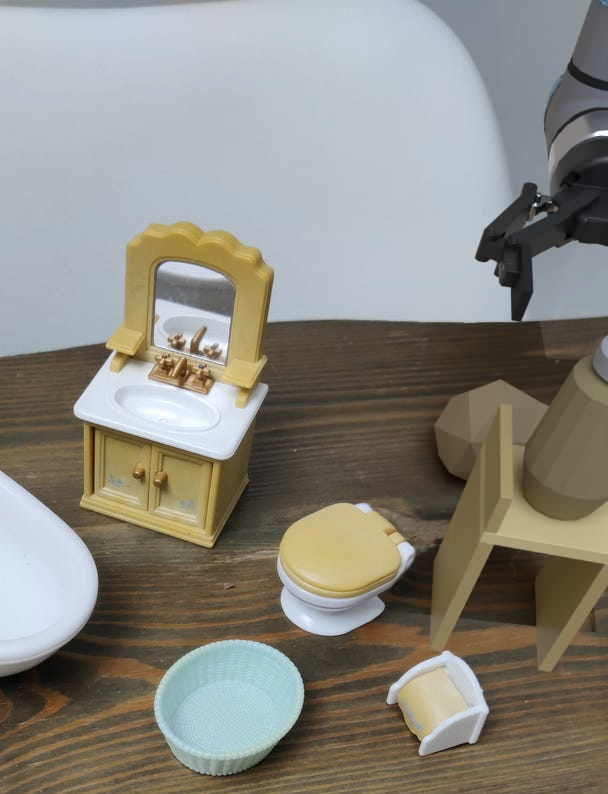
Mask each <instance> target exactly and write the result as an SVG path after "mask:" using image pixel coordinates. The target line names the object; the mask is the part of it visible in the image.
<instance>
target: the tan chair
mask: <svg viewBox="0 0 608 794" xmlns="http://www.w3.org/2000/svg"><path fill="white" fill-rule="evenodd" d="M524 451H525V447H524V446H518V445H513V431H512V406H511V405H506V404H500V406H499V408H498V410H497V413H496V415H495V417H494V420H493V422H492V425H491V427H490V429H489V432H488V434H487V436H486V439H485V441H484V443H483V446H482V448H481V451H480V453H479V455H478V458H477V460H476V462H475V465H474V467H473V469H472V472H471V474H470V477H469V479H468V481H466V484H465V486H464V489H463V491H462V493H461V496H460V498H459V501H458V503H457V505H456V508H455V510H454V512H453V515H452V517H451V519H450V522H449V524H448V526H447V529H446V531H445V533H444V536H443V538H442V541H441V543H440V546H439V548H438V550H437V553H436V555H435V557H434V561H433V566H432V567H433V568H432V586H431V590H432V591H431V603H430V604H431V606H430V625H429V626H430V627H429V645H428V649H429V650H430V651H435V652H441V653H442V652H443V651H444V649H445V647H446V644H447V643H448V642H449V641H448V640H449V638H450V636H451V635H452V633H453V630H454V628H455V626H456V624H457V622H458V620H459V618H460V616H461V614H462V613H463V609H464V608H465V606H466V603H467V601H468V599H469V598H470V595H471V593H472V592H473V589H474V588H475V585H476V583H477V580H478V578H479V577H480V575H481V572H482V571H483V569H484V566H485V564H486V563H487V561H488V558H489V557H490V554H491V553H492V551H493V548H494V546H500V547H505V548H511V549H517V550H523V551H529V552H534V553H540V554H546V555H548V556H547V558H546V559H545V561H544V563H543V565H542V567H541V568H540V570H539V572H538V574H537V576H536V577H535V580H534V591H535V592H534V594H535V596H534V597H535V599H534V600H535V629H536V630H535V632H536V664H537V671H542V672H547V673H551V672H552V671H553V670H554V668H555V666H556V665H557V663H558V662H559V661H560V659H561V657H562V656H563V654H564V653H565V651H566V650H567V648H568V647H569V645H570V644H571V642H572V641H573V639H574V637H575V636H576V635H577V633H578V632H579V630H580V629H581V627H582V626H583V624H584V622H585V621H586V620H587V618H588V616H589V615H590V613H591V612H592V610H593V609H594V607H595V606H596V604H597V603H598V601H599V600H600V598H601V597H602V595H603V594H604V592H605V591H606V589H607V587H608V501H607V502H606V503H604V504H603V505H602V506H600V507H599V508H598V509H596V510H595V511H594V512H592V513H591V514H590V515H588V516H586V517H583V518H581V519H578V520H561V519H557V518H553V517H549V516H547V515H545V514H544V513H542V512H540V511H538V510H536V509H535V508H534V507H533V506H532V505H531V504H530V503H529V502H528V501H527V499H526V497H525V495H524V492H523V457H524Z"/></svg>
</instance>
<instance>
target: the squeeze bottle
mask: <svg viewBox="0 0 608 794" xmlns="http://www.w3.org/2000/svg"><path fill="white" fill-rule="evenodd" d="M548 406H549V408H548V409H547V411H546V412H545V414H544V416H543V417H542V419H541V420H540V422H539V424H538V425H537V427H536V428H535V430H534V432H533V433H532V435H531V436H530V438H529V440H528V441H527V443H526V445H525V451H524V457H523V492H524V495H525V497H526V499H527V501H528V502H529V503H530V504H531V505H532V506H533V507H534V508H535V509H536V510H538V511H540V512H542V513H544V514H545V515H547V516H549V517H553V518H557V519H561V520H578V519H581V518H583V517H586V516H588V515H590V514H591V513H592V512H594V511H595V510H596V509H598V508H599V507H600V506H602V505H603V504H604V503H606V502H607V501H608V334H606V336H604V338H603V339H602V340H601V341H600V343H599V345H598V347H597V348H596V351H595V353H592V354H590V355H586V356H583V357H582V358H581V359H579V361H577V363H576V364H575V365H573V367H572V369H571V370H570V373H569V374H568V375H567V377H566V379H565V380H564V382H563V384H562V385H561V387H560V389H559V390H558V391H557V393H556V395H555V396H554V398H553V399H552V401H551V403H550V404H549V405H548Z"/></svg>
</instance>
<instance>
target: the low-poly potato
mask: <svg viewBox="0 0 608 794" xmlns="http://www.w3.org/2000/svg"><path fill="white" fill-rule="evenodd" d="M500 404H506V405H511V406H512V431H513V445H518V446H524V447H525V445H526V443H527V441H528V440H529V438H530V436H531V435H532V433H533V432H534V430H535V428H536V427H537V425H538V424H539V422H540V420H541V419H542V417H543V416H544V414H545V412H546V411H547V409H548V408H549V406H550V405H547V404H545V403H543V402H541V401H540V400H538V399H536V398H535V397H532V396H530V395H529V394H527V393H525V392H524V391H522V390H520V389H518V388H516V387H515V386H514V385H512V384H509V383H508V382H507V381H504V380H502V379H498V380H496V381H492V382H490V383H487V384H485V385H481V386H479V387H476V388H474V389H471V390H468V391H466V392H463V393H460V394H458V395H455V396H453V397H451V398H450V400H449V401H448V402H447V404H446V406H445V408H444V409H443V411H442V412H441V414H440V415H439V417H438V419H437V420H436V421H435V423H434V425H433V427H434V435H435V440H436V447H437V453H438V457H439V459H440V460H441V462H442V463H443V465H444V466H445V468H446V469H447V470H448V472H449V474H451V475H452V476H456V477H458V478H460V479H462V480H464V481H466V482H467V481H468V479H469V477H470V474H471V472H472V469H473V467H474V465H475V462H476V460H477V458H478V455H479V453H480V451H481V448H482V446H483V443H484V441H485V439H486V436H487V434H488V432H489V429H490V427H491V425H492V422H493V420H494V417H495V415H496V413H497V410H498V408H499V406H500Z"/></svg>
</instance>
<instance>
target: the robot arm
mask: <svg viewBox="0 0 608 794" xmlns="http://www.w3.org/2000/svg"><path fill="white" fill-rule="evenodd" d="M542 121H543V126H544V127H543V132H544V137H545V141H546V152H547V163H548V164H547V166H548V168H547V169H548V179H549V180H548V181H549V195H548V194H547V195H546V194H543V193H542V192H540V191H538V188H539V187H538V185H537V184H536V183H534V182H531V181H529V182H527V181H526V182H523V185H522V187H521V190H520V192H519V196H518V197H517V198H516V199H515V200H514V201H513V202H512V203H511V204H510V205H508V207H506V208H505V209H504V210H503V211H502V212H500V214H498V216H497V217H496V218H494V219H493V220H492V221H491V222H490V223H489V224H488V225H487V226H486V227H485V228H484V229H483V231H482V234H481V237H480V241H479V243H478V246H477V248H476V252H475V255H474V259H475V260H476V261H477V262H479V263H488V262H489V261H490V260H491V261H493V262H495V263H496V265H495V268H494V270H493V275H494V276H495V277H496V278H498V283H499V285H500V286H501V287H503V288H510V319H511V322H519V323H521V322H522V321H523V318H524V316H525V314H526V311H527V308H528V306H529V304H530V301H531V299H532V296H533V294H534V273H533V258H535V257H537V256H538V255H541V254H542V253H544V252H546V251H547V250H549V249H552V248H556V249H560V248H562V247H564V246H566V245H568V244H569V243H572V242H577V241H578V243H579V244H585V245H599V246H603V247H607V248H608V0H591V1H590V4H589V6H588V9H587V12H586V15H585V18H584V21H583V22H582V26H581V29H580V31H579V34H578V37H577V40H576V43H575V46H574V49H573V52H572V54H571V57H570V60H569V62H568V63H567V65H566V68H565V71H564V72H563V73H562V75H560V76H559V77H558V79H557V80H556V81H555V82H554V83H553V85H552V87H551V88H550V91H549V92H548V95H547V99H546V103H545V109H544V112H543V120H542ZM541 213H546V216H544V217H543V218H540V219H539V220H537V221H535V222H533V221H534V218H535V217H537V216H539V215H540V214H541ZM527 222H528V223H531V222H532V223H531V224H529V225H527V226H526V224H527Z"/></svg>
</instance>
